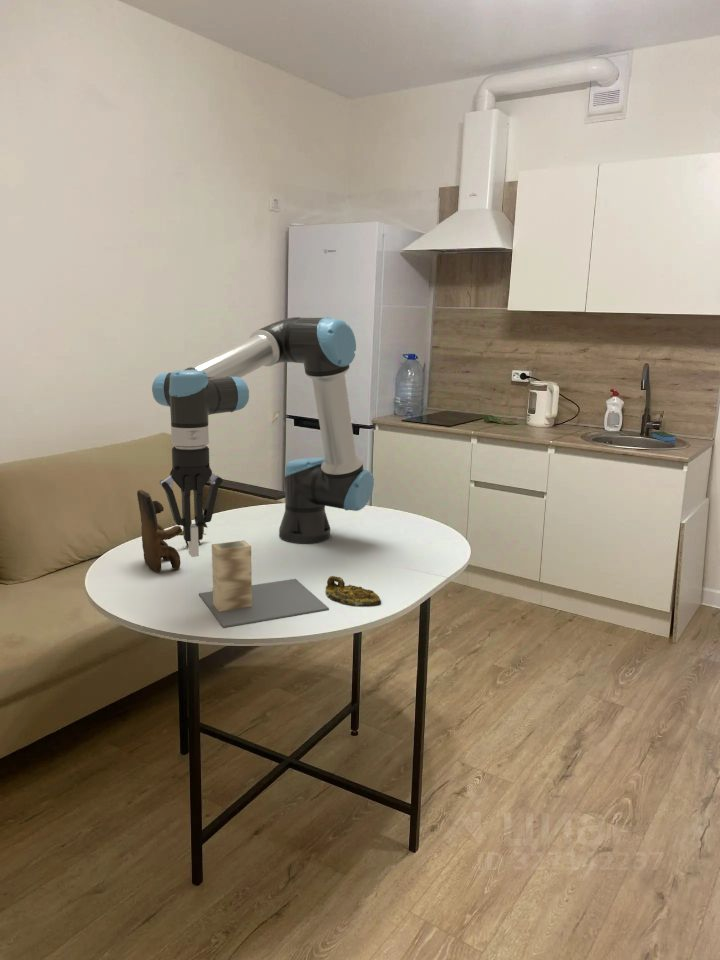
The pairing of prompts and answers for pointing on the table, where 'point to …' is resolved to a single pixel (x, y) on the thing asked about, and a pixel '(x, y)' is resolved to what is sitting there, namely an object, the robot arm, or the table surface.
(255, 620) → the rubber mat
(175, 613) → the table surface
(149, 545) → the figurine
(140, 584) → the table surface
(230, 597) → the beech block
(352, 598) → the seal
